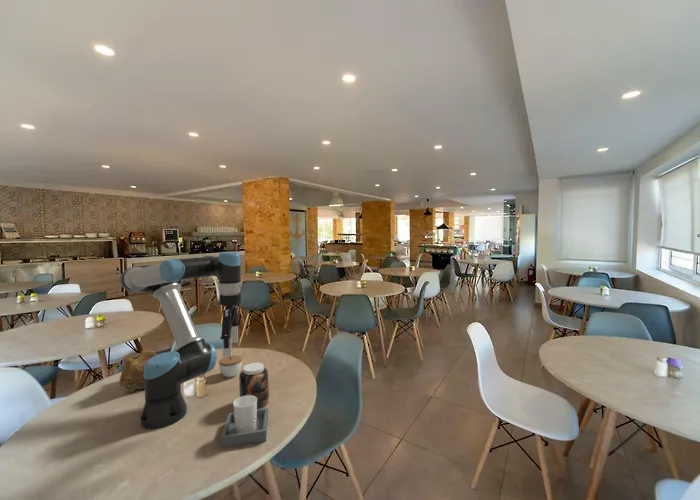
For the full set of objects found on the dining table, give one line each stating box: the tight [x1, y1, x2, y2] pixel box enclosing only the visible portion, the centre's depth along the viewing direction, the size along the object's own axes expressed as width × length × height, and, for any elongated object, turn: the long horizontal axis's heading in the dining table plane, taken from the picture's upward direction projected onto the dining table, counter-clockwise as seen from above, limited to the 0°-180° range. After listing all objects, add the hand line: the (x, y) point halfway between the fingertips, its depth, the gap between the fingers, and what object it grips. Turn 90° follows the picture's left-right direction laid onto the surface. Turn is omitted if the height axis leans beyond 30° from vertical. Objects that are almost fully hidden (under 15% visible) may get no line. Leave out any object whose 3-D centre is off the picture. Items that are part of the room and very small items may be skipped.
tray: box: [220, 407, 269, 449], centre depth 106 cm, size 14×14×4 cm
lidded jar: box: [218, 355, 243, 378], centre depth 151 cm, size 11×11×9 cm
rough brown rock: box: [119, 349, 158, 393], centre depth 142 cm, size 23×17×15 cm
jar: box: [238, 362, 270, 409], centre depth 124 cm, size 12×12×15 cm
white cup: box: [232, 395, 257, 433], centre depth 105 cm, size 8×8×10 cm
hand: (230, 349), depth 114 cm, fingers open, 13 cm apart
